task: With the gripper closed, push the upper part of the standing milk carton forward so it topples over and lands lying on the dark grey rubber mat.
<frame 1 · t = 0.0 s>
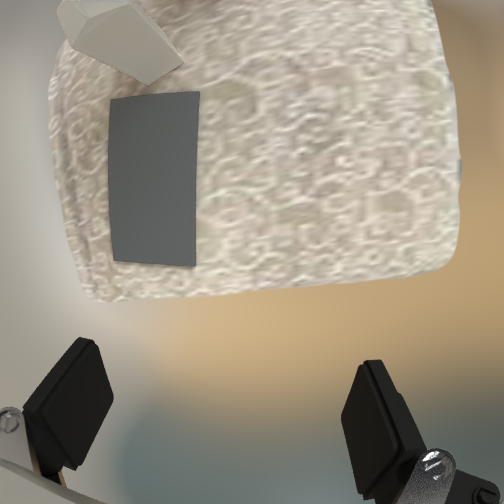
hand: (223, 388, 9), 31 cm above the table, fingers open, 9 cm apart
mat: (150, 179, 38), on the table
milk: (157, 60, 32), on the table
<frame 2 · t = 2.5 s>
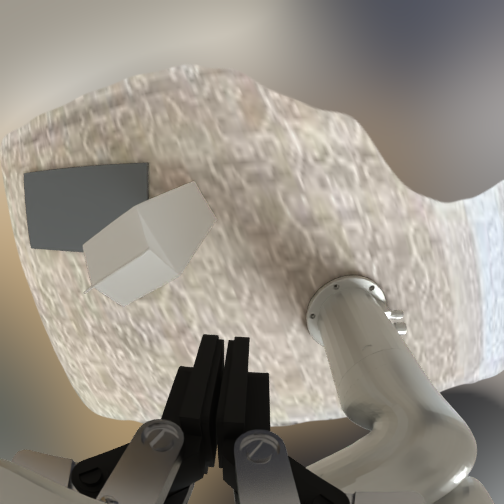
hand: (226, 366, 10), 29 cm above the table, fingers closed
mat: (79, 209, 38), on the table
milk: (187, 210, 38), on the table
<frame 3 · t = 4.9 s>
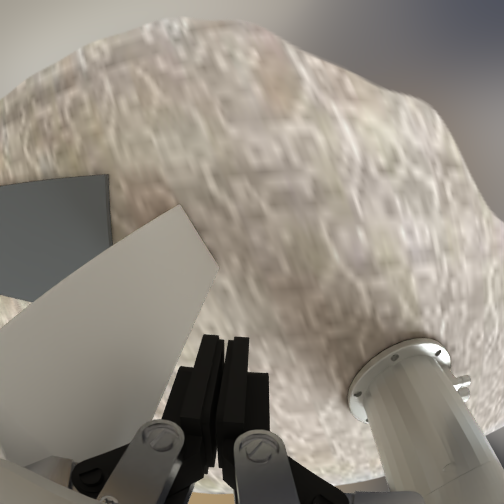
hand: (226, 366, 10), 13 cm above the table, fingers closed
mat: (24, 244, 24), on the table
milk: (171, 252, 23), on the table, touching gripper
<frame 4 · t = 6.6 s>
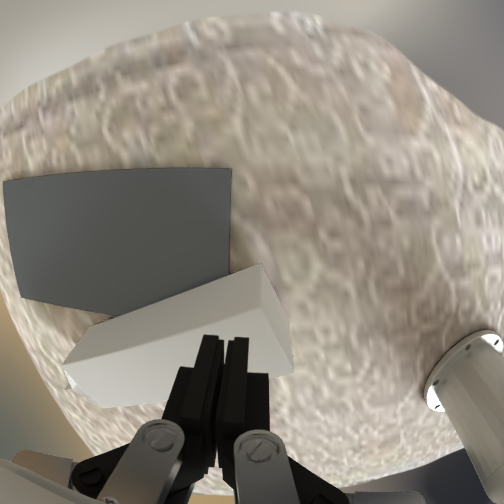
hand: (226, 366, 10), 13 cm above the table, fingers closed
mat: (95, 245, 23), on the table
milk: (280, 314, 20), point 4 cm above the table, touching mat
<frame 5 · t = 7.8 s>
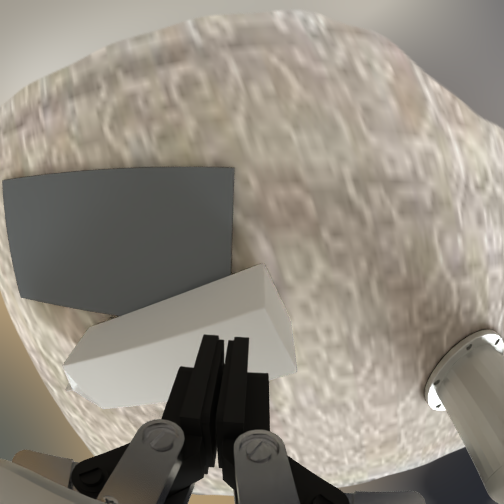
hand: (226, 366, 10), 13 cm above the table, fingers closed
mat: (96, 244, 23), on the table
milk: (283, 314, 20), point 4 cm above the table, touching mat
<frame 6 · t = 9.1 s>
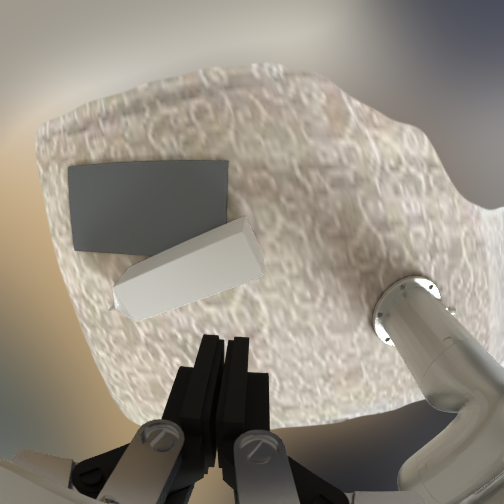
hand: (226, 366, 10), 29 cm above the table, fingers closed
mat: (140, 208, 38), on the table
milk: (256, 243, 35), point 4 cm above the table, touching mat
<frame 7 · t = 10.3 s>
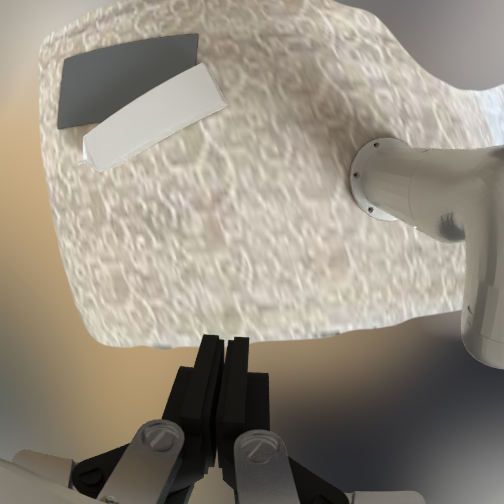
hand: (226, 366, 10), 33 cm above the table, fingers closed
mat: (120, 80, 36), on the table
milk: (217, 84, 33), point 4 cm above the table, touching mat
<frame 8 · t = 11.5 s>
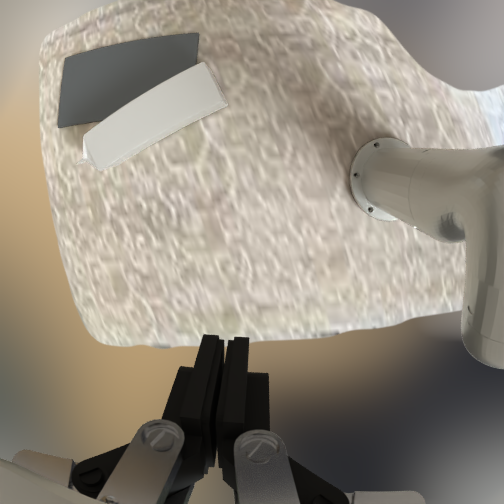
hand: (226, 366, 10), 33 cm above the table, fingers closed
mat: (121, 79, 36), on the table
milk: (218, 83, 33), point 4 cm above the table, touching mat
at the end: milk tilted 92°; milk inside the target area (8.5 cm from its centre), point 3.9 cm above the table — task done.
